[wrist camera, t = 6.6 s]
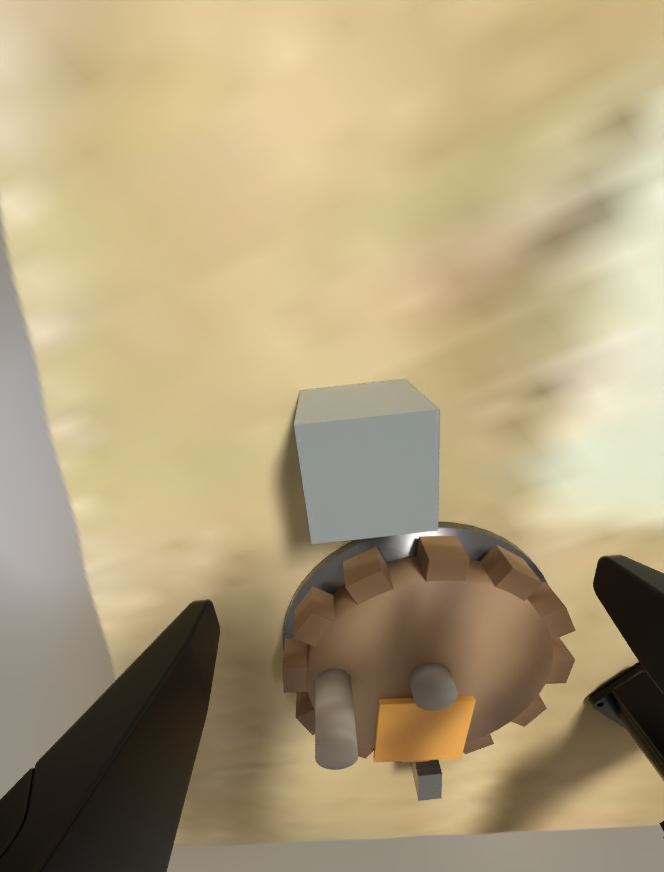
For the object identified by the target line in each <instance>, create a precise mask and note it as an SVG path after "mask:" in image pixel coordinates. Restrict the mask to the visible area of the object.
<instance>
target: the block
mask: <svg viewBox="0 0 664 872" xmlns="http://www.w3.org/2000/svg"><path fill="white" fill-rule="evenodd" d="M294 429H295V436H296V443H297V450H298V456H299V463H300V470H301V477H302V483H303V490H304V497H305V504H306V510H307V517H308V524H309V530H310V537H311V544H320V543H330V542H339V541H348V540H357V539H366V538H376V537H385V536H394V535H403V534H413V533H422V532H431V531H438V510H439V446H440V409H439V408H438V407H437V406H436V405H435V404H433V403H432V402H431V401H430V400H429V399H428V398H427V397H426V396H424V395H423V394H422V393H421V392H420V391H419V390H418V389H417V388H415V387H414V386H413V385H412V384H411V383H410V382H409V381H408V380H406V379H399V380H390V381H381V382H371V383H362V384H353V385H343V386H334V387H325V388H315V389H306V390H300V394H299V399H298V405H297V410H296V416H295V422H294Z"/></svg>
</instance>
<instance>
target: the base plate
mask: <svg viewBox="0 0 664 872" xmlns="http://www.w3.org/2000/svg"><path fill="white" fill-rule="evenodd" d="M419 536H457V538H458V540H459V541H460V543H461V545H462V546H463V548H464V550H465V551H466V553H467V555H468V557H469V558H470V559H474V560H477V561H481V560H482V559H483V558H484V557H485V556H486V555H487V554H488V552H489V551H490V550H491V549H492V548H493V547H494V546H495V545H498V546H500V547H502V548H504V549H506V550H508V551H509V552H511V553H513V554H515V555H517V556H519V557H521V558H523V559H524V560H525V562H526V563H527V564H528V566H529V567H530V568H531V569H532V571H533V572H534V573H535V574H536V576H537V577H538V578H539V579H540V581H541V582H542V583H543V582H546V580H545V578H544V576H543V574H542V573H541V572H540V571H539V569H538V568H537V567H536V565H535V564H534V563H533V562H532V560H531V559H530V558H529V557H528V556H527V555H526V554H525V553H524V552H523V551H522V550H521V549H519V548H518V547H517V546H516V545H514V544H512V543H511V542H509V541H508V540H506V539H505V538H503V537H501V536H499V535H496V534H494V533H492V532H490V531H487V530H484V529H481V528H477V527H474V526H470V525H464V524H459V523H451V522H438V531H431V532H422V533H413V534H403V535H394V536H385V537H376V538H366V539H357V540H354V541H352V542H350V543H348V544H346V545H344V546H342V547H341V548H339V549H338V550H336V551H335V552H333V553H332V554H331V555H329V556H328V557H326V558H325V559H324V560H323V561H322V562H321V563H319V564H318V565H317V566H316V567H315V568H314V569H313V570H312V571H311V572H310V573H309V574H308V576H307V577H306V578H305V579H304V580H303V581H302V583H301V584H300V586H299V588H298V589H297V591H296V592H295V594H294V596H293V598H292V600H291V603H290V605H289V607H288V611H287V615H286V619H285V625H284V638H283V646H284V649H285V639H294V638H293V629H294V614H295V609H296V608H297V606H298V605H299V603H300V602H301V601H302V599H303V598H304V597H305V595H306V594H307V592H308V591H309V590H310V588H311V587H312V586H313V587H315V588H318V589H320V590H322V591H325V592H327V593H329V594H333V593H335V592H336V591H337V590H338V589H339V588H340V587H341V586H343V585H344V584H345V579H344V569H343V561H345V560H347V559H350V558H352V557H354V556H356V555H358V554H360V553H362V552H364V551H366V550H369V549H371V548H373V547H375V546H376V548H377V549H378V551H379V552H380V554H381V555H382V557H383V559H384V560H385V562H390V561H393V560H397V559H400V558H406V557H412V556H417V548H418V541H419ZM546 583H547V582H546Z"/></svg>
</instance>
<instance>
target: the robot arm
mask: <svg viewBox="0 0 664 872" xmlns="http://www.w3.org/2000/svg"><path fill="white" fill-rule="evenodd" d="M593 587H594V591H595V593H596V595H597V597H598V598H599V600H600V602H601V603H602V605H603V606H604V608H605V609H606V611H607V612H608V614H609V616H610V617H611V619H612V620H613V622H614V623H615V625H616V626H617V628H618V630H619V631H620V633H621V634H622V636H623V637H624V639H625V640H626V642H627V644H628V645H629V647H630V648H631V650H632V651H633V653H634V654H635V656H636V657H637V659H638V660H639V662H640V663H641V665H639V666H638V667H636V668H635V669H633V670H632V671H630V672H629V673H627V674H625V675H624V676H622V677H621V678H619V679H618V680H616V681H615V682H613V683H612V684H610V685H609V686H607V687H606V688H604V689H602V690H601V691H599V692H598V693H596V694H595V695H593V696H592V697H591V698H590V702H591V704H592V705H593V707H594V708H595V709H597V710H598V711H600V712H601V713H603V714H604V715H606V716H607V717H609V718H610V719H612V720H614V721H615V722H617V723H618V724H620V725H621V726H623V727H624V728H626V729H627V731H628V732H629V733H630V735H631V736H632V738H633V739H634V740H635V742H636V743H637V745H638V746H639V747H640V749H641V750H642V751H643V753H644V754H645V756H646V757H647V758H648V760H649V761H650V763H651V764H652V765H653V767H654V768H655V769H656V771H657V772H658V774H659V775H660V776H661V778H662V779H663V781H664V573H661V572H659V571H657V570H655V569H652V568H650V567H648V566H645V565H643V564H641V563H639V562H636V561H634V560H632V559H629V558H627V557H625V556H622V555H610V556H603V557H601V558H600V559H599V560H598V563H597V568H596V572H595V577H594V581H593ZM219 636H220V627H219V622H218V619H217V616H216V612H215V609H214V606H213V603H212V601H211V600H199V601H193V602H192V603H190V604H189V605H188V606H187V607H186V608H185V609H184V610H183V611H182V612H181V614H180V615H179V616H178V617H177V618H176V619H175V620H174V621H173V622H172V623H171V624H170V625H169V626H168V627H167V628H166V629H165V630H164V631H163V632H162V633H161V634H160V635H159V636H158V637H157V638H156V639H155V640H154V641H153V643H152V644H151V645H150V646H149V647H148V648H147V649H146V650H145V651H144V652H143V653H142V654H141V655H140V656H139V657H138V658H137V659H136V660H135V661H134V662H133V663H132V664H131V665H130V666H129V667H128V668H127V669H126V670H125V671H124V673H123V674H122V675H121V676H120V677H119V678H118V679H117V680H116V681H115V682H114V683H113V684H112V685H111V686H110V687H109V688H108V689H107V690H106V691H105V692H104V693H103V694H102V695H101V696H100V697H99V698H98V699H97V700H96V702H95V703H94V704H93V705H92V706H91V707H90V708H89V709H88V710H87V711H86V712H85V713H84V714H83V715H82V716H81V717H80V718H79V719H78V720H77V721H76V722H75V723H74V724H73V725H72V726H71V727H70V728H69V729H68V731H67V732H66V733H65V734H64V735H63V736H62V737H61V738H60V739H59V740H58V741H57V742H56V743H55V744H54V745H53V746H52V747H51V748H50V749H49V750H48V751H47V752H46V753H45V754H44V755H43V756H42V757H41V758H40V759H39V761H38V762H37V763H36V765H35V768H31V769H30V770H29V771H28V772H27V773H26V774H25V775H24V776H23V777H22V778H21V779H20V780H19V781H18V782H17V783H16V784H15V785H14V786H13V787H12V788H11V789H10V790H9V791H8V792H7V793H6V794H5V795H4V796H3V798H2V799H0V872H167V868H168V864H169V860H170V856H171V852H172V848H173V844H174V840H175V836H176V833H177V829H178V825H179V821H180V817H181V813H182V809H183V805H184V801H185V797H186V794H187V790H188V786H189V782H190V778H191V774H192V770H193V766H194V762H195V758H196V755H197V751H198V747H199V743H200V739H201V735H202V731H203V727H204V723H205V719H206V715H207V710H208V705H209V699H210V693H211V687H212V680H213V674H214V668H215V661H216V655H217V649H218V642H219ZM660 825H661V827H662V829H663V831H664V821H663V822H661V823H660Z"/></svg>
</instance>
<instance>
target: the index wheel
mask: <svg viewBox="0 0 664 872" xmlns="http://www.w3.org/2000/svg"><path fill="white" fill-rule="evenodd" d="M343 569H344V579H345V584H344V585H343V586H341V587H340V588H339V589H338V590H337V591H336V592H335V593H333V594H329V593H327V592H325V591H322V590H320V589H318V588H315V587H313V586H312V587H311V588H310V590H309V591H308V592H307V594H306V595H305V597H304V598H303V599H302V601H301V602H300V603H299V605H298V606H297V608H296V609H295V614H294V629H293V638H294V639H285V649H284V660H283V683H284V692H297V701H296V718H297V719H298V720H299V722H300V723H301V724H302V725H303V726H304V727H305V728H306V729H307V730H308V731H309V732H310V733H311V734H312V735H314V734H315V759H316V762H317V763H318V764H319V765H320V766H321V767H323V768H326V769H332V770H337V769H344V768H347V767H349V766H351V765H353V764H354V763H355V762H356V761H357V759H358V756H359V757H363V758H366V757H367V756H368V755H369V754H371V753H372V752H373V751H374V762H391V761H399V762H423V761H430V760H438V759H461V757H462V753H463V752H464V753H465V754H467V753H470V752H473V751H476V750H478V749H481V748H484V747H487V746H489V745H492V744H494V743H493V740H492V738H491V735H490V733H492V732H494V731H496V730H498V729H499V728H501V727H503V726H504V725H506V724H507V723H509V722H510V721H511V722H514V723H516V724H519V725H522V726H524V727H525V726H526V725H527V724H528V723H530V722H531V721H532V720H533V719H534V718H536V717H537V716H538V715H539V714H541V713H542V712H543V711H544V710H545V709H547V708H546V706H545V705H544V703H543V701H542V699H541V698H540V696H539V693H540V692H541V690H542V688H543V687H544V685H545V684H554V683H566V682H567V679H568V676H569V674H570V671H571V669H572V666H573V664H574V661H575V659H574V657H573V656H572V655H571V653H570V652H569V650H568V649H567V648H566V646H565V645H564V643H563V642H562V641H561V639H560V638H559V637H561V636H563V635H566V634H568V633H571V632H573V631H575V628H574V626H573V623H572V621H571V618H570V616H569V613H568V611H567V609H566V607H565V605H564V604H563V603H562V602H561V600H560V599H559V598H558V597H557V596H556V594H555V593H554V592H553V591H552V589H551V588H550V587H549V586H548V584H547V583H546V582H543V583H542V582H541V581H540V579H539V578H538V577H537V576H536V574H535V573H534V572H533V571H532V569H531V568H530V567H529V566H528V564H527V563H526V562H525V560H524V559H523V558H521V557H519V556H517V555H515V554H513V553H511V552H509V551H508V550H506V549H504V548H502V547H500V546H498V545H495V546H494V547H493V548H492V549H491V550H490V551H489V552H488V554H487V555H486V556H485V557H484V558H483V559H482V560H481V561H477V560H474V559H470V558H469V557H468V555H467V553H466V551H465V550H464V548H463V546H462V545H461V543H460V541H459V540H458V538H457V536H419V541H418V548H417V556H412V557H406V558H400V559H397V560H393V561H390V562H385V560H384V559H383V557H382V555H381V554H380V552H379V551H378V549H377V548H376V546H375V547H373V548H371V549H369V550H366V551H364V552H362V553H360V554H358V555H356V556H354V557H352V558H350V559H347V560H345V561H343Z"/></svg>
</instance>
